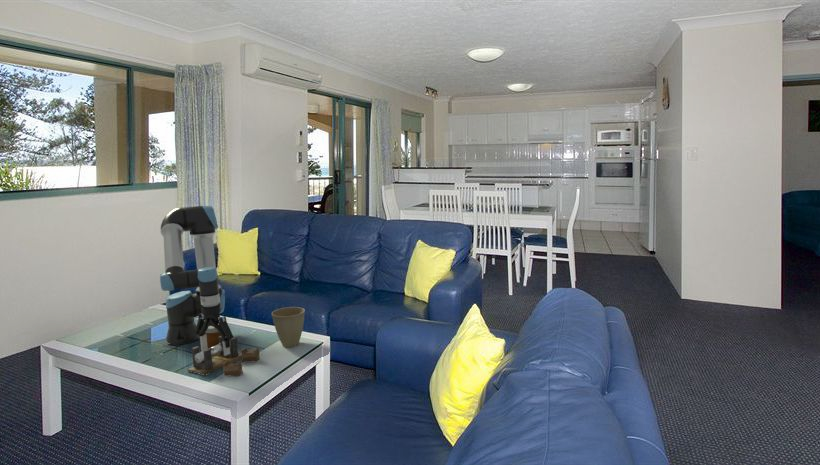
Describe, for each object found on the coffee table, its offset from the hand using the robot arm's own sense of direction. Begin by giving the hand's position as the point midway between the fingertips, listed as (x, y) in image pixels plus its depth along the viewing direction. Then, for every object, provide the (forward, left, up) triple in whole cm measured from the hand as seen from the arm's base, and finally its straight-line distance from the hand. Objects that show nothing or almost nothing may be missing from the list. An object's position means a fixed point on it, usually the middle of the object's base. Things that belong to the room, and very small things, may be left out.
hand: (215, 352), depth 214 cm
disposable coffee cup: (-13, +11, -5) cm, 18 cm away
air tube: (0, 0, -1) cm, 1 cm away
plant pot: (+15, +30, -5) cm, 34 cm away
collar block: (0, 0, -5) cm, 5 cm away
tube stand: (+13, +2, -5) cm, 14 cm away
